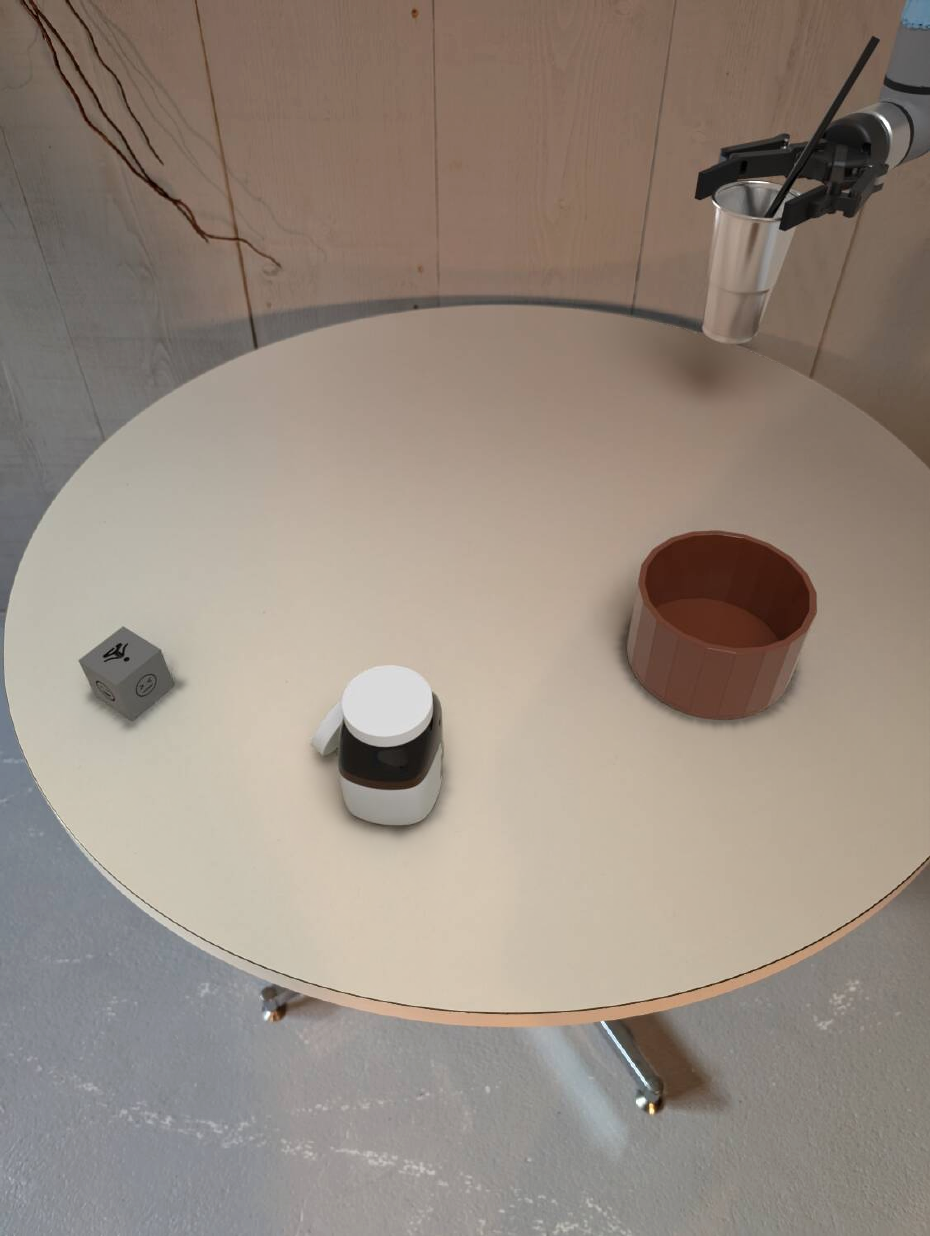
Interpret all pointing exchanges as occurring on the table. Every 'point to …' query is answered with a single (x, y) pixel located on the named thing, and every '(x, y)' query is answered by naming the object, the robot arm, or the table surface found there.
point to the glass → (755, 239)
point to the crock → (719, 623)
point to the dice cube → (127, 673)
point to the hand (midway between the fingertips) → (740, 201)
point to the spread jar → (386, 745)
